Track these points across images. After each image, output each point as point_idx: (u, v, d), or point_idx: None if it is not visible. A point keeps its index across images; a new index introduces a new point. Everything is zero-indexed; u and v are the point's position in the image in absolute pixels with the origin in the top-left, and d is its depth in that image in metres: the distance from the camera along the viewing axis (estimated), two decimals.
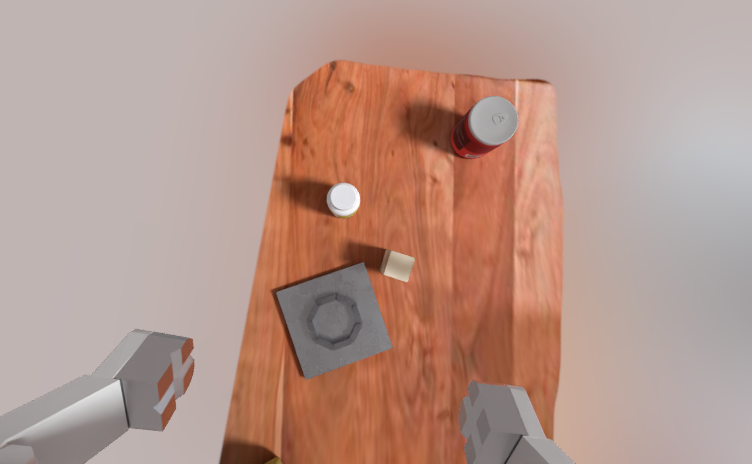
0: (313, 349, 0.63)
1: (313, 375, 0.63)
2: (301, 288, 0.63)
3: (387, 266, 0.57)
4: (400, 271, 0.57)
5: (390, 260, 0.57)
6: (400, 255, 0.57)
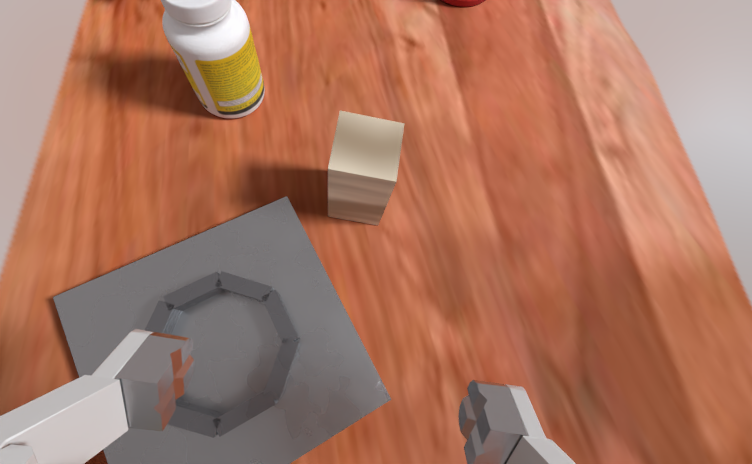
0: (162, 449, 0.21)
1: None
2: (129, 278, 0.24)
3: (335, 148, 0.21)
4: (371, 156, 0.21)
5: (341, 133, 0.21)
6: (365, 119, 0.22)
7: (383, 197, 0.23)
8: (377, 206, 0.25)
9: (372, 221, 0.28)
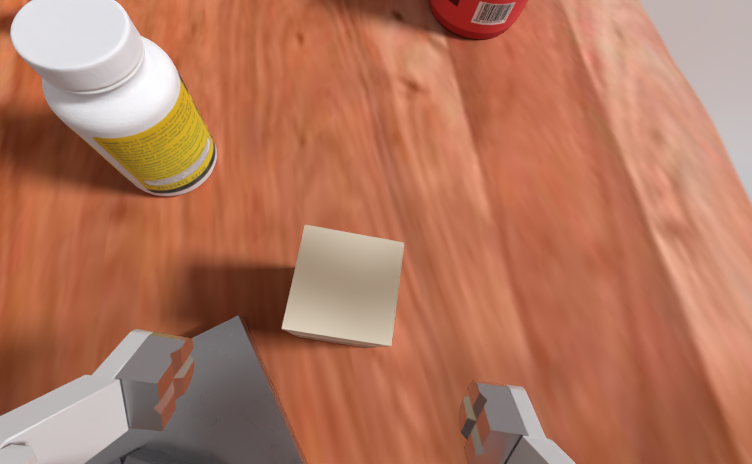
0: None
1: None
2: None
3: (295, 290, 0.13)
4: (352, 303, 0.13)
5: (306, 263, 0.14)
6: (344, 238, 0.14)
7: (372, 345, 0.16)
8: (364, 345, 0.17)
9: (359, 346, 0.20)
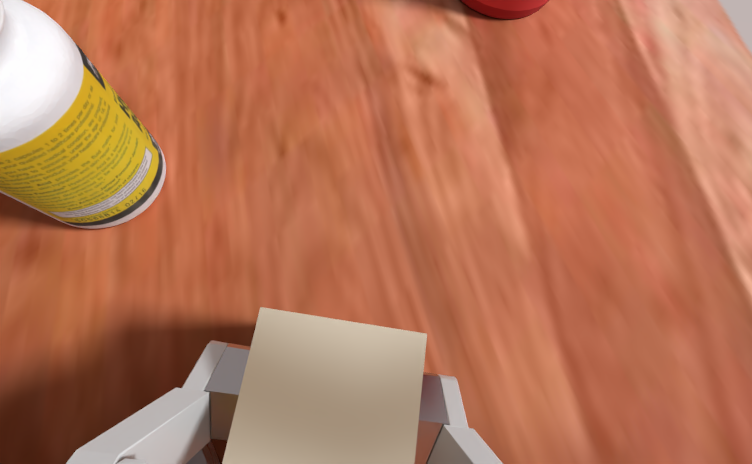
0: None
1: None
2: None
3: (238, 432, 0.08)
4: (338, 450, 0.08)
5: (260, 379, 0.08)
6: (326, 331, 0.08)
7: None
8: None
9: None
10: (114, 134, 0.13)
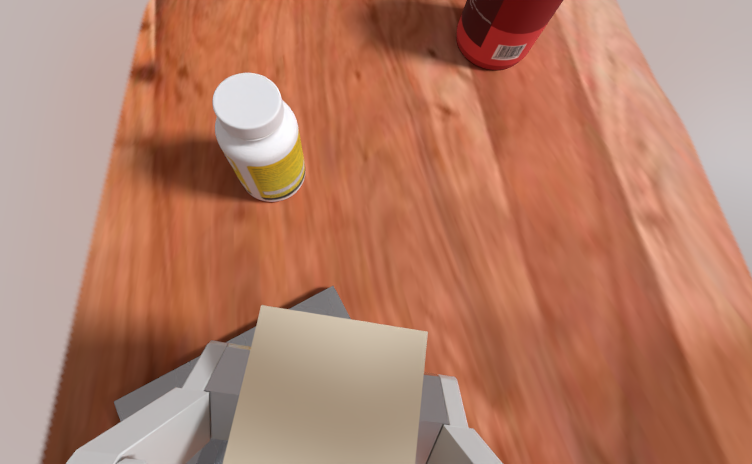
0: None
1: None
2: (185, 378, 0.24)
3: (239, 429, 0.08)
4: (340, 448, 0.08)
5: (261, 377, 0.08)
6: (327, 328, 0.08)
7: None
8: None
9: None
10: (300, 152, 0.27)
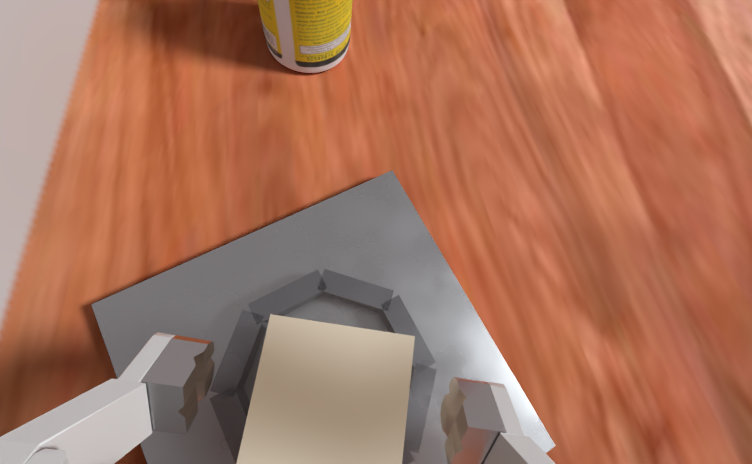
0: None
1: None
2: (193, 277, 0.17)
3: (253, 421, 0.09)
4: (339, 437, 0.09)
5: (271, 376, 0.09)
6: (327, 334, 0.10)
7: None
8: None
9: None
10: None
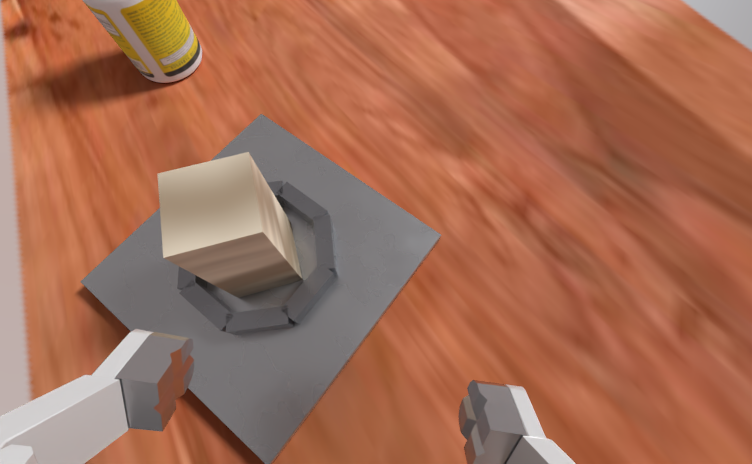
0: (245, 364, 0.20)
1: (283, 438, 0.19)
2: (145, 237, 0.23)
3: (165, 225, 0.15)
4: (218, 214, 0.15)
5: (168, 201, 0.15)
6: (194, 170, 0.16)
7: (270, 253, 0.17)
8: (277, 264, 0.19)
9: (291, 279, 0.21)
10: (176, 3, 0.27)
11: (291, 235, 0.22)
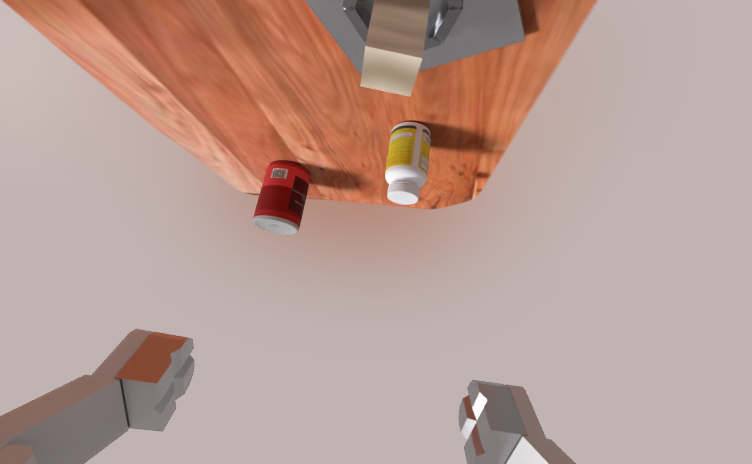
0: None
1: None
2: (472, 47, 0.33)
3: (415, 72, 0.26)
4: (386, 65, 0.26)
5: (409, 82, 0.27)
6: (390, 90, 0.28)
7: (376, 19, 0.25)
8: (381, 2, 0.26)
9: None
10: None
11: None
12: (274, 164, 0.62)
